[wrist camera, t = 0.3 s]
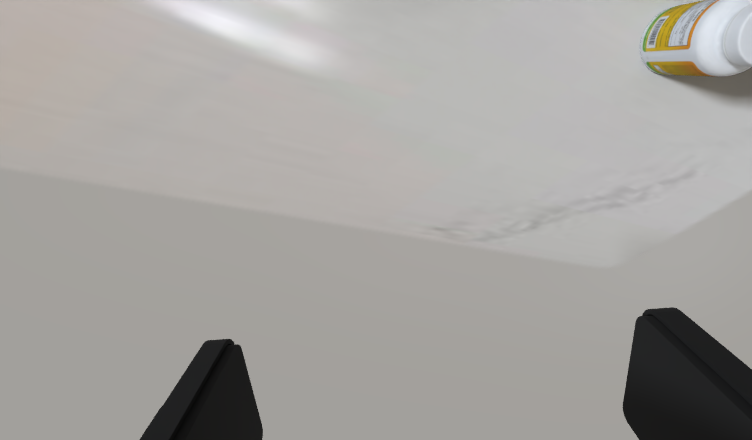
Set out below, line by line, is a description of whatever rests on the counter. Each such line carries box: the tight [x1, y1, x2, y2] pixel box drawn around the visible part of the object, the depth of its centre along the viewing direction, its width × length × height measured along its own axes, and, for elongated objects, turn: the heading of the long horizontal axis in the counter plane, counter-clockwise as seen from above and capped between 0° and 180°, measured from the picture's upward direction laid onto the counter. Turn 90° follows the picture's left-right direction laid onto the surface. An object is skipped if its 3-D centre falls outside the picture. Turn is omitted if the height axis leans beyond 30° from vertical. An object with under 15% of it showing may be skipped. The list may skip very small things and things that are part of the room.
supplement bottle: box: [640, 0, 752, 76], centre depth 30 cm, size 5×5×10 cm
